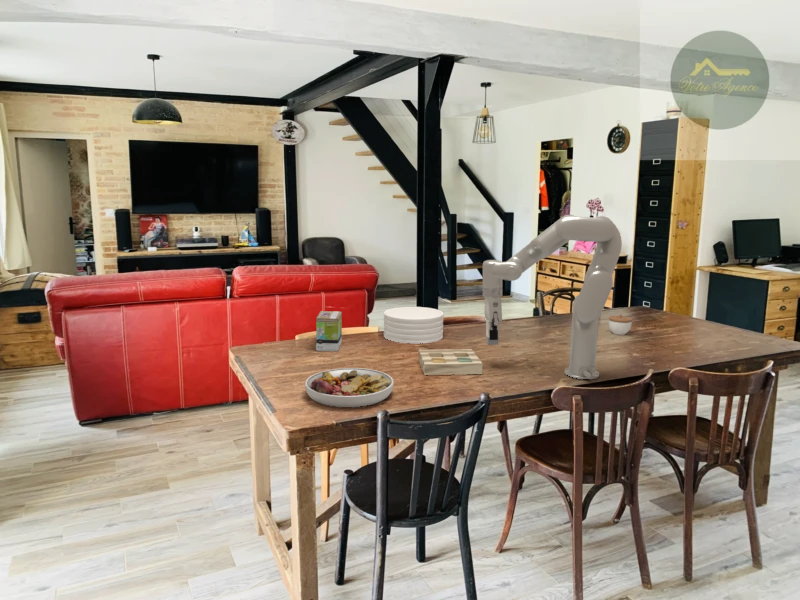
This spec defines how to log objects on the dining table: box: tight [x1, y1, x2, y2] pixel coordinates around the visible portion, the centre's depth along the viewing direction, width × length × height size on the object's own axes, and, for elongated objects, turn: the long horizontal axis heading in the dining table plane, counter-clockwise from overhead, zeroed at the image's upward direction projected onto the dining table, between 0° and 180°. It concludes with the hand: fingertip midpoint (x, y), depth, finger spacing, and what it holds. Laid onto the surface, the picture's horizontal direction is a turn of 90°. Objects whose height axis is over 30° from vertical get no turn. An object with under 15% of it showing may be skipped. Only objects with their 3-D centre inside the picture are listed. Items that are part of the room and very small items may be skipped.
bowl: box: [304, 367, 394, 408], centre depth 205 cm, size 30×30×8 cm
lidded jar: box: [608, 314, 633, 336], centre depth 291 cm, size 11×11×9 cm
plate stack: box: [383, 306, 444, 345], centre depth 283 cm, size 28×28×12 cm
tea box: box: [315, 310, 343, 352], centre depth 263 cm, size 15×10×15 cm
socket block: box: [418, 348, 483, 376], centre depth 235 cm, size 20×22×5 cm
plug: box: [485, 318, 500, 346], centre depth 234 cm, size 4×4×10 cm
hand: (492, 337), depth 235 cm, fingers closed on plug, 4 cm apart
